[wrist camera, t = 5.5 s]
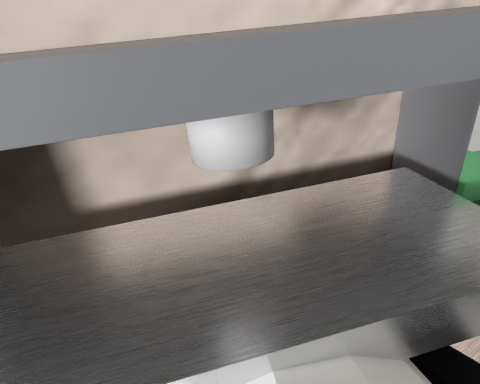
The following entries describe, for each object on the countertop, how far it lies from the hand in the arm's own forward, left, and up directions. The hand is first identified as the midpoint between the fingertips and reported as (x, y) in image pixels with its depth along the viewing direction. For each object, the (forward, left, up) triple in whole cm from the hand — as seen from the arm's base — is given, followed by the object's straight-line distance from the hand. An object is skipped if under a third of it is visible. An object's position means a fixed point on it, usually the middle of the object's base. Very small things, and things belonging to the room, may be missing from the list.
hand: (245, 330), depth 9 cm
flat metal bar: (-1, -3, -1) cm, 3 cm away
